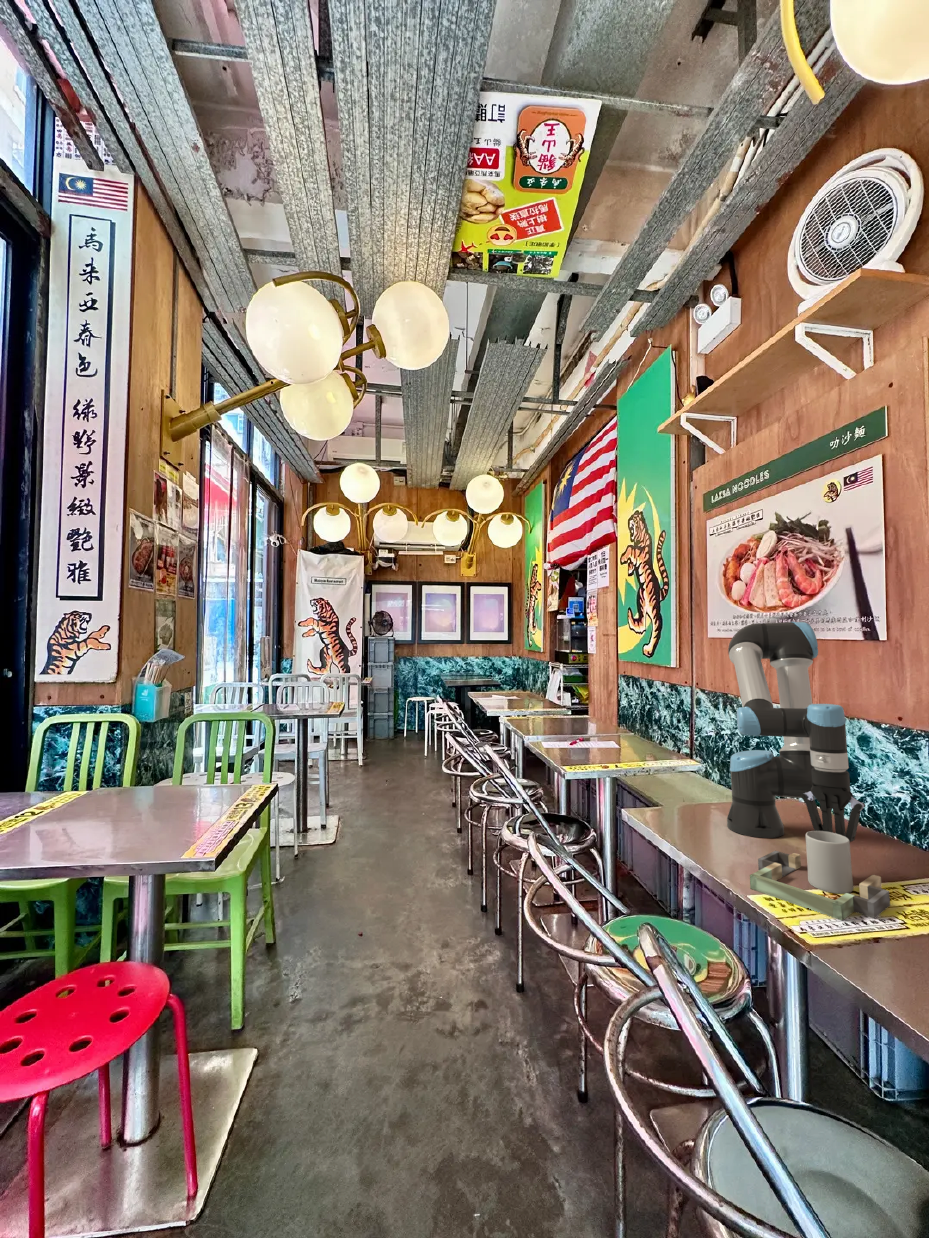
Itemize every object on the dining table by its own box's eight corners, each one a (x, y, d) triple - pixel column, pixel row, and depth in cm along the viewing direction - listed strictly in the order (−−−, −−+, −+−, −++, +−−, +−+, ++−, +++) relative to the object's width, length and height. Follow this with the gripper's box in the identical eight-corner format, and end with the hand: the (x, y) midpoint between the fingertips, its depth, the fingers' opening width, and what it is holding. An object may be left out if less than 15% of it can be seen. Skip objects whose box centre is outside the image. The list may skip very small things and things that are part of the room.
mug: (860, 895, 115) (857, 844, 115) (816, 892, 117) (813, 841, 117) (836, 873, 126) (833, 826, 127) (797, 870, 128) (794, 824, 129)
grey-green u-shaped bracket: (779, 860, 134) (779, 848, 135) (901, 896, 114) (900, 882, 114) (735, 883, 122) (734, 870, 122) (862, 927, 101) (861, 911, 102)
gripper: (793, 766, 129) (799, 864, 128) (855, 775, 119) (863, 882, 117) (806, 762, 134) (812, 856, 132) (867, 770, 123) (875, 873, 121)
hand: (836, 868), depth 124 cm, fingers closed
